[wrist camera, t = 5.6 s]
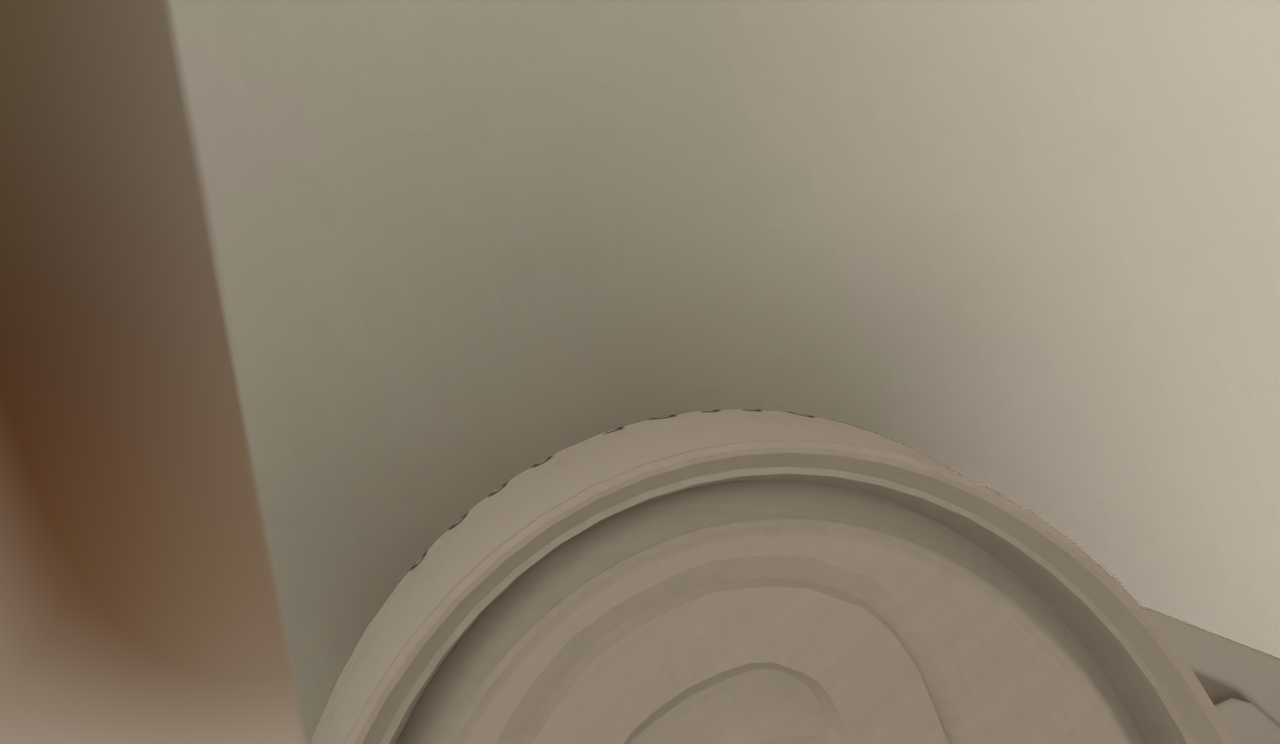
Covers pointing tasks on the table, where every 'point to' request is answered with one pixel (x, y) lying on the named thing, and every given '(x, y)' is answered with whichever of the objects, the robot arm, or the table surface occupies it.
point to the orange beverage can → (759, 607)
